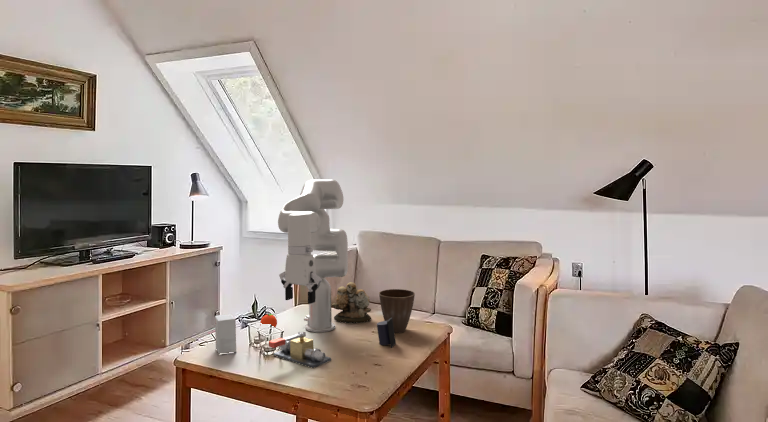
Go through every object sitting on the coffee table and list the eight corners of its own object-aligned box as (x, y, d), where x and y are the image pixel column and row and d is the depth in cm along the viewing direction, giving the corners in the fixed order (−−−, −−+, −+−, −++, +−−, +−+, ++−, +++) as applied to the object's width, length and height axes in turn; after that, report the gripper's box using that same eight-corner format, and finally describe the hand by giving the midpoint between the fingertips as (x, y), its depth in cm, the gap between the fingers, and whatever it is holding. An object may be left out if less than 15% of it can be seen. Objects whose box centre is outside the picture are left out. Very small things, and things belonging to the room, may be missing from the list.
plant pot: (414, 325, 229) (414, 289, 228) (415, 336, 214) (415, 297, 213) (379, 325, 230) (379, 288, 229) (378, 335, 215) (378, 297, 214)
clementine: (271, 326, 228) (270, 310, 227) (282, 329, 224) (282, 313, 224) (256, 331, 222) (256, 314, 221) (268, 334, 218) (268, 317, 217)
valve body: (273, 355, 192) (273, 334, 192) (292, 349, 199) (291, 328, 199) (313, 368, 180) (312, 345, 179) (331, 360, 187) (330, 338, 187)
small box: (236, 353, 195) (235, 318, 194) (218, 356, 192) (217, 320, 191) (232, 346, 202) (231, 313, 201) (215, 349, 199) (214, 315, 198)
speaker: (400, 343, 204) (397, 317, 204) (391, 348, 200) (388, 321, 200) (385, 341, 209) (382, 315, 209) (376, 346, 205) (373, 319, 204)
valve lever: (268, 346, 179) (268, 341, 179) (301, 335, 191) (301, 330, 191) (274, 348, 177) (274, 342, 177) (307, 336, 189) (307, 331, 189)
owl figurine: (330, 323, 233) (329, 285, 232) (333, 316, 245) (333, 279, 244) (370, 323, 232) (370, 285, 231) (372, 316, 244) (372, 279, 243)
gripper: (327, 250, 175) (327, 302, 176) (287, 247, 184) (288, 295, 185) (312, 253, 168) (313, 306, 169) (272, 250, 177) (273, 300, 178)
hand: (300, 301), depth 177 cm, fingers open, 9 cm apart
